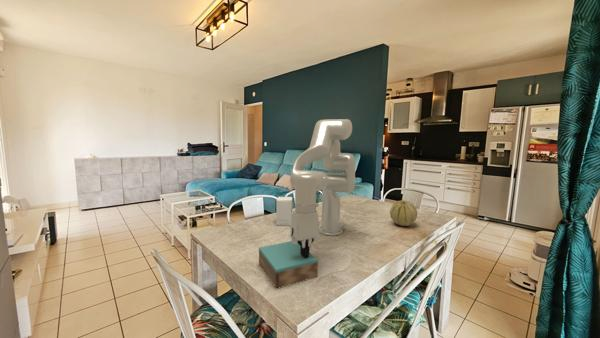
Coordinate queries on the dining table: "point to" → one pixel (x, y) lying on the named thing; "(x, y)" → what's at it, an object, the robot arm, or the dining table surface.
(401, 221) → the cantaloupe
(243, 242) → the dining table surface
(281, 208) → the supplement box
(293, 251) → the lid
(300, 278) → the brown wooden box
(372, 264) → the dining table surface
